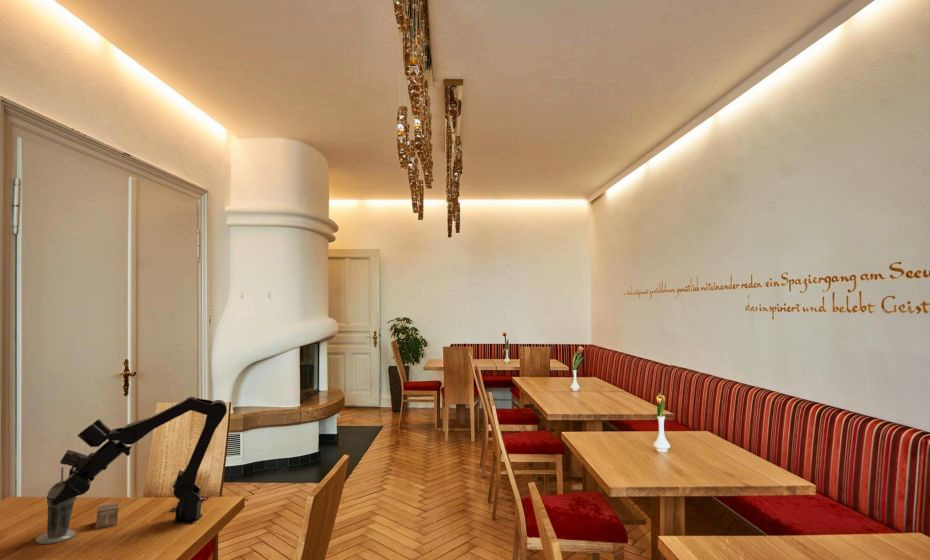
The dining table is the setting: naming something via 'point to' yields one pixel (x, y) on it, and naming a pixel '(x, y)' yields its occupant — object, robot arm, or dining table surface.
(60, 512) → the beverage cup
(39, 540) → the grey coaster
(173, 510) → the smartphone
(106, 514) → the letter block
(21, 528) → the dining table surface
